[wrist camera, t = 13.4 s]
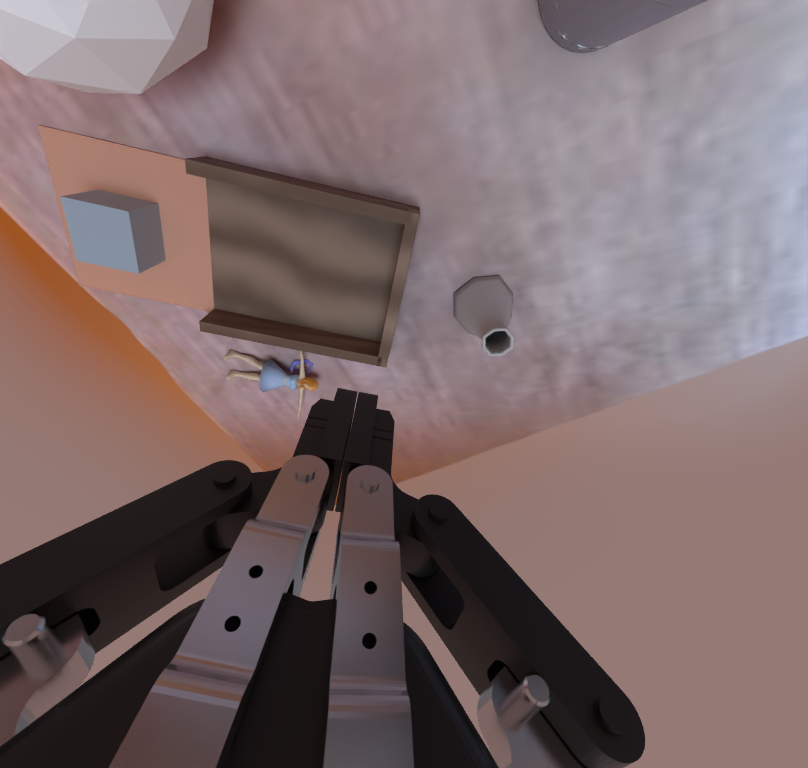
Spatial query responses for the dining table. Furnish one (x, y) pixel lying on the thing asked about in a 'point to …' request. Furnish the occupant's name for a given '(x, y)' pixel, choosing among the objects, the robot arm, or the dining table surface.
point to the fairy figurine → (275, 375)
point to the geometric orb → (103, 40)
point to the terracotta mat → (147, 180)
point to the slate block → (114, 230)
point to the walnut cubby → (304, 262)
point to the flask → (486, 313)
